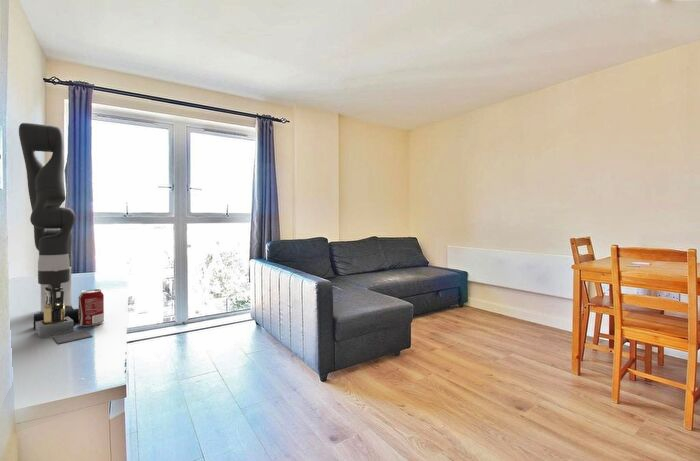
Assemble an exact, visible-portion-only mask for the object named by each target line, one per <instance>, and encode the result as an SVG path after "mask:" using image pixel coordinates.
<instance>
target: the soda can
mask: <svg viewBox="0 0 700 461" xmlns="http://www.w3.org/2000/svg"><path fill="white" fill-rule="evenodd" d="M104 299H105V298H104V293H103V292H102V289H101V288H99V289H98V288H92V289H85V290H81V291H80V295H79V296H78V309H79V322H78V326H80V327H82V326H83V327H82V328H91V326H92V327H95V326H99V325H100V324H102V323H104V321H105V319H104V318H105V315H104V314H105V312H104V310H105V308H104V306H105V305H104V301H105V300H104Z"/></svg>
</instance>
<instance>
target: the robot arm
mask: <svg viewBox="0 0 700 461" xmlns="http://www.w3.org/2000/svg"><path fill="white" fill-rule="evenodd" d="M18 136H19V137H18V138H19V141H20V146H21V150H22V154H23V160H24V164H25V170H26V178H27V179H26V180H27V189H28V197H29V202H30V206H31V207H30V208H31V214H30V217H29V218H30V219H29V220H30V223H31V225H32V226H33V237H34V246H35V248H36V250H37V251H38V260H37V283H38V284H39V285H40V313H44V305H47V304H50V305H51V321H52V322H53V323H54V322H60V321H61V310H62V309H63V303H65V305H67V306H71V305H72V246H73V244H72V242H73V234H72V229H73V227H74V224H75V221H76V214H75V212H74V210H73V209H71V208H70V207H63V206H62V204H63V203H64V202H65V200H66V191H65V190H66V189H65V183H64V170H65V169H64V168H65V166H64V165H65V139H64V134H63V131H62V129H61V127H58V126H55V125H50V124H49V125H48V124H39V123H31V122H22V123H20V124H19V126H18ZM36 152H44V153H45V152H46V153H52V154H51V156H50V159H49V160H48V161H47V162H46V163H45V165H44V164H43V162H41V160H40V159H39V157H38V155H37V153H36ZM55 303H59V305H58V306H55Z"/></svg>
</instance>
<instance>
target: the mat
mask: <svg viewBox="0 0 700 461" xmlns="http://www.w3.org/2000/svg"><path fill="white" fill-rule="evenodd" d="M89 338H93V335H92V334H91V332H88V331H87V329H84V330H79V331H73V332H68V333H63V334H58V335H53V336H52V339H53V341H55V342H56V344H57V345H61V344H66V343H71V342H75V341H79V340H80V341H81V340H85V339H89Z"/></svg>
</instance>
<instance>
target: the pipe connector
mask: <svg viewBox="0 0 700 461" xmlns="http://www.w3.org/2000/svg"><path fill="white" fill-rule="evenodd" d="M66 316H69V317H70V318H71V319H72V320H73V321H74V324H77V323H78V324H79V308H74V307H73V306H72V304H71V306H67V305H65V317H66ZM42 320H44V313H42V312H40V313H34V314H33V329H34V330H36V324H35V322H36V321H42Z"/></svg>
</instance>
